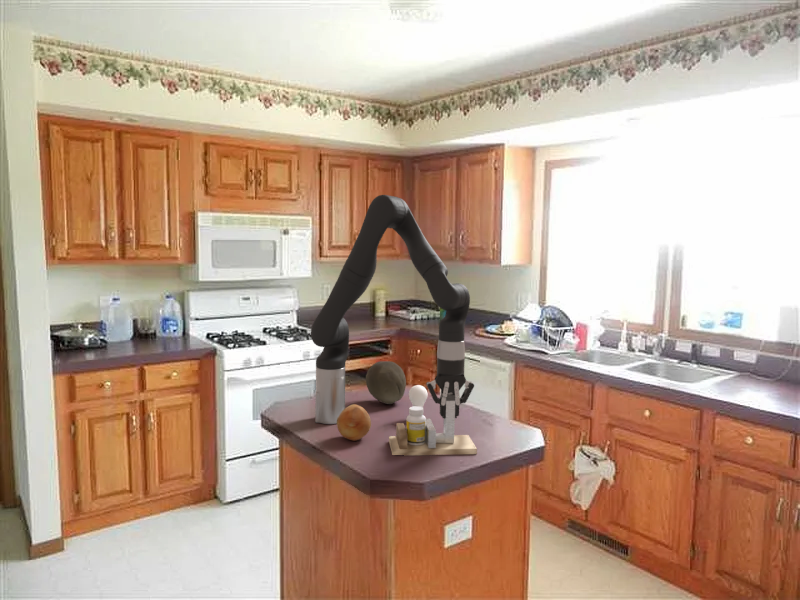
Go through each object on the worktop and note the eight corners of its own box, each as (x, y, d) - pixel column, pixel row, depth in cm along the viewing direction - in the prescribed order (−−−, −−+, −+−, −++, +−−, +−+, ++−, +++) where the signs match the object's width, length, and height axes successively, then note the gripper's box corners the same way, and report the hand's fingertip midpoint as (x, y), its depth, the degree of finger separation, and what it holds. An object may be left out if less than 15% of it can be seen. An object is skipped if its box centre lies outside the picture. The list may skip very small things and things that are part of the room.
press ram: (428, 448, 156) (429, 398, 154) (422, 435, 166) (424, 389, 164) (456, 447, 156) (458, 398, 155) (449, 435, 166) (450, 389, 165)
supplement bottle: (409, 438, 164) (410, 404, 163) (427, 440, 162) (428, 406, 161) (403, 444, 159) (404, 409, 158) (422, 447, 157) (423, 412, 156)
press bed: (392, 455, 154) (392, 435, 154) (388, 441, 165) (389, 422, 165) (476, 454, 157) (477, 434, 156) (468, 440, 168) (468, 421, 167)
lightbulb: (427, 416, 189) (428, 383, 188) (426, 422, 183) (427, 388, 182) (409, 415, 190) (409, 382, 189) (407, 421, 184) (408, 387, 183)
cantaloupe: (404, 397, 211) (405, 357, 209) (406, 409, 197) (407, 366, 195) (365, 397, 210) (366, 357, 209) (365, 409, 196) (365, 365, 195)
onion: (332, 435, 169) (332, 402, 168) (363, 431, 173) (364, 399, 172) (342, 446, 160) (342, 411, 159) (375, 442, 164) (376, 408, 163)
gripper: (427, 359, 154) (426, 422, 156) (479, 359, 156) (477, 421, 158) (423, 353, 162) (422, 413, 164) (472, 353, 163) (470, 413, 165)
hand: (449, 417), depth 161 cm, fingers closed on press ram, 2 cm apart
